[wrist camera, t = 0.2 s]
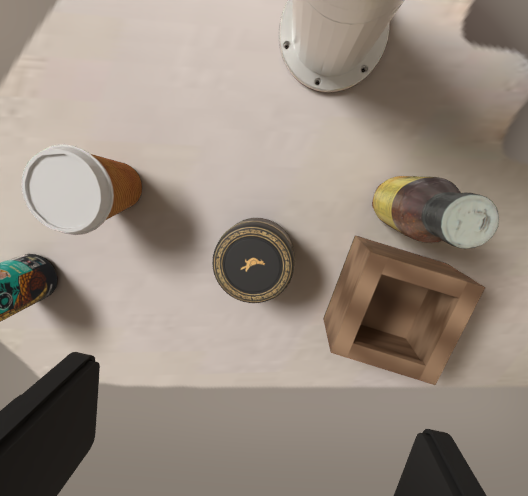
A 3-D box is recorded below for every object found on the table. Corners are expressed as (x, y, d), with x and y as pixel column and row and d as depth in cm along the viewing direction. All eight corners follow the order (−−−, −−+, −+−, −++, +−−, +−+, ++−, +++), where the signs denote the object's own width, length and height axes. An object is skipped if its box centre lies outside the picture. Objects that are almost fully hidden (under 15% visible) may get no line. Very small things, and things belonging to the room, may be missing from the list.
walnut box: (355, 235, 44) (370, 252, 35) (446, 263, 44) (485, 287, 35) (323, 318, 47) (330, 352, 39) (408, 344, 47) (435, 385, 39)
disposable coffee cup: (163, 169, 44) (117, 170, 32) (139, 230, 46) (89, 251, 35) (99, 137, 44) (30, 126, 32) (78, 201, 46) (7, 212, 34)
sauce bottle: (429, 195, 42) (545, 219, 23) (395, 232, 44) (478, 284, 24) (390, 164, 42) (475, 161, 22) (357, 203, 43) (411, 232, 24)
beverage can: (49, 304, 51) (-23, 345, 39) (9, 279, 50) (-75, 313, 38) (68, 269, 49) (-2, 301, 37) (27, 243, 48) (-56, 267, 37)
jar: (209, 247, 46) (193, 263, 39) (259, 199, 44) (253, 206, 37) (257, 296, 47) (251, 320, 40) (308, 252, 45) (312, 268, 38)
